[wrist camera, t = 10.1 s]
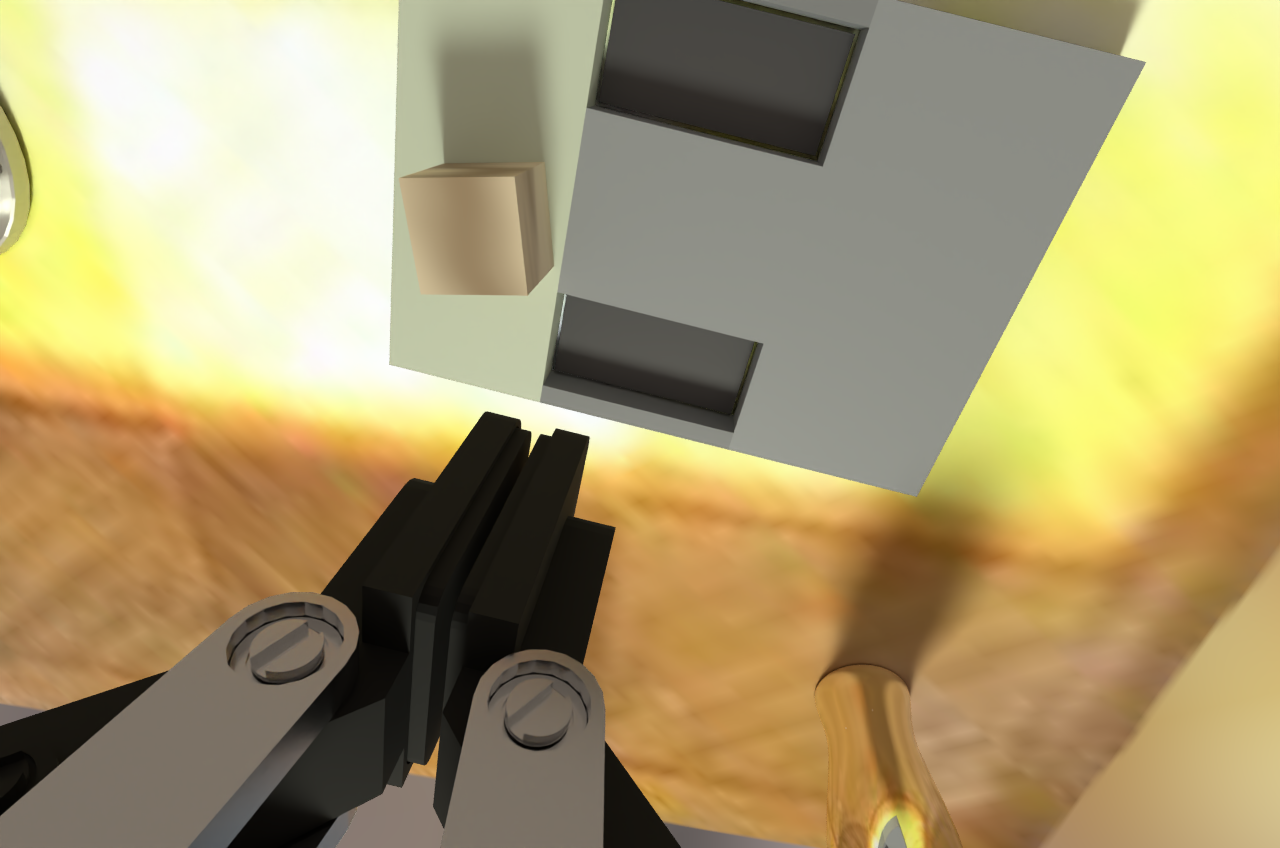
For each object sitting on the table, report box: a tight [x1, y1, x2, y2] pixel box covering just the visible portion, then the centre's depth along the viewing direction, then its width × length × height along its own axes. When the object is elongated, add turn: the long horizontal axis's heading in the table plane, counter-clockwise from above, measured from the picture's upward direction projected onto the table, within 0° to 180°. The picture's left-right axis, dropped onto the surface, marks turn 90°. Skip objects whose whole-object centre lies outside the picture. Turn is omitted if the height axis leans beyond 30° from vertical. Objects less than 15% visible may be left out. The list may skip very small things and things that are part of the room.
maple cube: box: [399, 162, 554, 296], centre depth 27 cm, size 4×4×4 cm
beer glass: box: [815, 664, 963, 848], centre depth 37 cm, size 7×7×15 cm
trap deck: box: [389, 0, 1146, 497], centre depth 30 cm, size 28×20×2 cm
